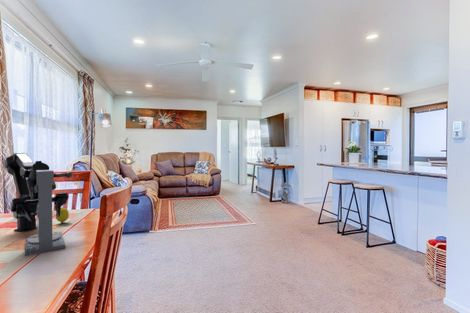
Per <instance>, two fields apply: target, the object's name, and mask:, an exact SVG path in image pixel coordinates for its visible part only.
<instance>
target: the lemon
mask: <svg viewBox="0 0 470 313" xmlns="http://www.w3.org/2000/svg"><path fill="white" fill-rule="evenodd" d="M69 214H70V213H69V210H68V209H67V208H66V207H63V206H61V211H60V216H59V217H58V215H57V213H55V219H56V221H57V222H59V223H62V224H63V223H64V222H66V221H67V220H68V219H69V217H70V215H69Z"/></svg>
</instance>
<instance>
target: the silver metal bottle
mask: <svg viewBox="0 0 470 313" xmlns="http://www.w3.org/2000/svg"><path fill="white" fill-rule="evenodd" d="M36 226H37V228H36V234H37V238H39V205H37V215H36Z"/></svg>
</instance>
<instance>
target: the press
mask: <svg viewBox="0 0 470 313" xmlns="http://www.w3.org/2000/svg"><path fill="white" fill-rule="evenodd" d="M72 177H73V172H71V171H67V172H65V173H60V172H59V173H55V172H54V169H49V170H36V178H37V186H38V205H39V238H37V233H36V234H34V235H31V236H27V237H25V247H24V248H25V249H24V256H25V257H27V256H33V255H37V254H38V255H39V254H42V253H48V252H53V251H59V250H64V249H66V242H65V239H64V236H63V235H64V234H63V232H62V231H60V232H59V231H53V202H52V197H53V190H52V185H54V182H55V179H54V178H67V179H71V178H72Z"/></svg>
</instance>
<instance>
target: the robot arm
mask: <svg viewBox="0 0 470 313" xmlns="http://www.w3.org/2000/svg"><path fill="white" fill-rule="evenodd" d="M3 164H4V168H5V169H6V173H8V174H10V175H11V176H12V177H13V182H14V186H15V188H16V189H15V190H16V194H17V197H14V198H12V199H11V202H10V206H9V207H10V208H9V209H10V212H11V213H12V215H13V218H14V219H16V221H17V222H16V223H17V225H16V227H17V228H15V229H13V231H14V232H25V233H26V232H30V231H32V230H35V229H37V218H36V217H37V205H38V186H37V178H36V170H50V166H49V165H48V164H47V163H45V162H42V160H36V161H35V162H33V161H32V159H31V158H30V157H29V156H28V153H26V152H14V153H12V155H10V156H7V157H6V158H5V160H4V163H3ZM56 185H57V184H56V181H54V185H52V191H55V190H56V188H57V186H56ZM68 200H69V194H68V193H67V192H60V193H58V192H57V193H55V196H52V203H54V209H55V211H56V213H57V215H58V217H59V216H60V211H61V208H62V207H63V206H64V205H66V204H67V201H68ZM56 213H55V214H56Z"/></svg>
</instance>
